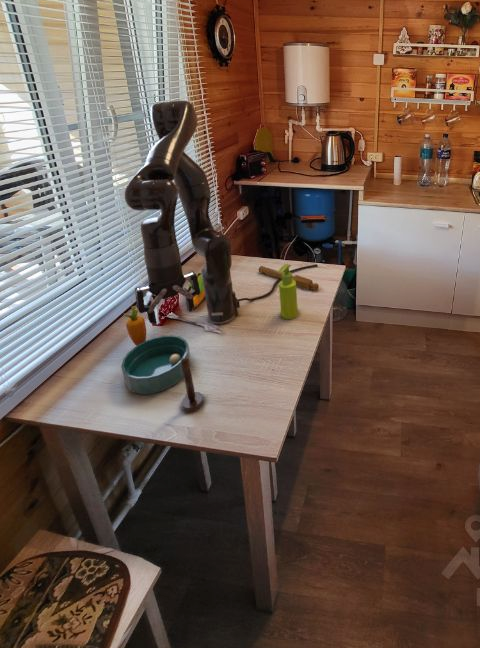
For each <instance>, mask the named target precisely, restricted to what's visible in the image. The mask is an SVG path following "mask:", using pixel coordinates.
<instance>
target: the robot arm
mask: <svg viewBox="0 0 480 648" xmlns="http://www.w3.org/2000/svg"><path fill="white" fill-rule="evenodd" d="M150 117H151V118H150V119H151V122H152V125H153V128H154V130H155V133H156V135H157V137H158V141H157V142H156V143H155V144H154V145H153V146H152V147H151V148H150V150H149V152H148V154H147V157H146V160H145V161H144V165H143V166H142V167H141V168H140V169H139V170H138V171H137V172H136V173H135V174H134V175H133V177H131V179H130V180H129V181H128V183H127V185H126V187H125V190H124V201H125V203H126V205H127V206H128V207H129V208H130V209H131V210H133V211H138V212H140V211H141V212H143V211H160V215H156V216H152V217H150V218H147V219H144V220H143V221H142V222H141V224H140V234H141V239H142V244H143V256H144V263H145V267H146V274H147V279H148V285H147V286H144V287H140V286H136V287H135V288H134V295H135V302H136V309H137V310H138V313H139V314H144V313H146V315H147V320H148V322H149V323H150V324H152V325H157V322H158V321H157V316H156V312H155V309H156V307H157V306H158V305H159V304H160V303H161V301H162V300H167V299H169V298H171V297H176V296H178V294H180V295H181V296H183V297H185V304H186V309H187V310H188V312H189V313H192V312H193V310H194V309H195V307H194V301H193V297H194V296H195V295H199V294H200V288H199V283H198V279H197V275H196V274H197V273H195V272H194V271H193V270H191V271H189V272H188V274H185V275H184V274H183V267H182V260H181V254H180V247H179V244H178V240H177V233H176V228H175V227H176V226H175V216H176V208H177V203H178V198H179V201H180V204H181V206H182V209H183V212H184V216H185V218H186V221H187V225H188V229H189V235H190V240H191V241H190V242H191V244H192V248H193V250H194V251H195V252H196V253H197V254H198V255H199V256H202V257H203V258H204V260H205V265H204V266H203V267H202V268H201V271H200V273H201V274H202V280H203V286H204V293H205V296H204V300H205V305H206V312H207V318H208V323H212V324H214V325H224V324H227V323H230V322H231V321H233V320H235V318H236V317H237V316H239V313H238V308H241V305H240V304H241V303H240V302H242V301H249V302H251V301H257V300H260V299H264V298H265V297H267V296H270V294H272V293H273V291H274V290H275V288H276V286H277V284H279V282H280V281H281V279H280V278H278V279H276V281H275V282H274V283H273V285H272V288H271V289H270V291H268V292H267V293H265V294H263V295H260V296H256V297H252V298H249V297H243V298H237V296H236V292H235V291H234V290H233V289H234V288H233V282H232V274H231V268H232V263H233V262H232V248H231V241H230V239H229V238H228V236H227V235H225V234H224V233H221V232H219V231H217V230H215V228H214V226H213V224H212V221H211V217H210V212H209V209H210V204H211V197H212V194H211V193H212V192H211V188H210V184H209V181H208V177H207V173H206V172H205V170H204V169H203V168H202V167H201V166H200V165H199V164H198V163H197V162H196V161H194V159H192V157H190V156H189V155H188V154H187V153H186V152H185V150H186V149H187V146H188V145H189V143H190V141H191V139H192V137H193V136H194V134H195V132H196V130H197V127H198V114H197V111H196V109H195V106H194V105H193V104H192V103H191V102H190V101H187V100H173V101H162V102H156V103H153V104H152V105H151V106H150ZM315 267H318V264H312V265H305V266H301V267H298V268H294V269H291V270H289V272H290V273H293V272H297V271H299V270H304V269H309V268H315ZM186 281H188V282H189V283H190V282H191V285H192V290H191V291H189V290H188V289H187V288H186V287H185V286H184V285H185V284H186ZM148 292H149V294H150V296H149V300H148V301H147V303H146V304H145V299H144V298H145V297H146V296H147V293H148Z"/></svg>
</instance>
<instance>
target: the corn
mask: <svg viewBox="0 0 480 648" xmlns="http://www.w3.org/2000/svg"><path fill="white" fill-rule="evenodd" d="M195 274H196V275H197V279H198V283H199V288H200V294H199V295H195V296H194V297H193V301H194V308H197V307H198V306H199V305H200V303H201V302H202V301H203V300H204V299H205V293H204V286H203V280H202V274H201V272H198V273H195ZM187 290H189V291H191V290H192V285H191V282H189V286H188V289H187Z"/></svg>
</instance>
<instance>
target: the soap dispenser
mask: <svg viewBox="0 0 480 648" xmlns="http://www.w3.org/2000/svg"><path fill="white" fill-rule="evenodd" d="M291 266H292V265H291V264H288V263H285V264H283V266H281V267H280V268H279V269H278V270H277V271H278V272H279V273H283V274H282V279H281V280H279V281H278V290H279V304H280V316H281V317H282V318H283V319H284V320H292V319H295V318H296V317H297V316H298V313H299V311H298V310H299V309H298V296H297V295H298V294H297V293H298V292H297V286H296V281H295V280H293V279H292V276H293V274H292V273H293V272H291V273H290V272H289V271H290V267H291Z"/></svg>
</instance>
